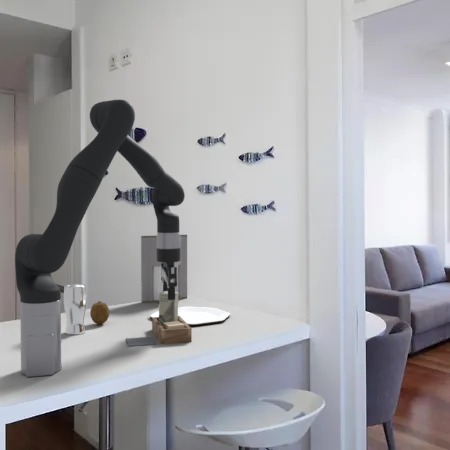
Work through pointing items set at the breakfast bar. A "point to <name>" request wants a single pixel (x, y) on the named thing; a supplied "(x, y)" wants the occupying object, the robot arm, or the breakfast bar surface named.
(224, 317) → the plate
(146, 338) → the mat
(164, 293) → the box
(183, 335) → the wooden tray
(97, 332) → the breakfast bar surface
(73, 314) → the beer glass
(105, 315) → the fruit
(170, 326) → the offcut
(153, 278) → the cabinet
